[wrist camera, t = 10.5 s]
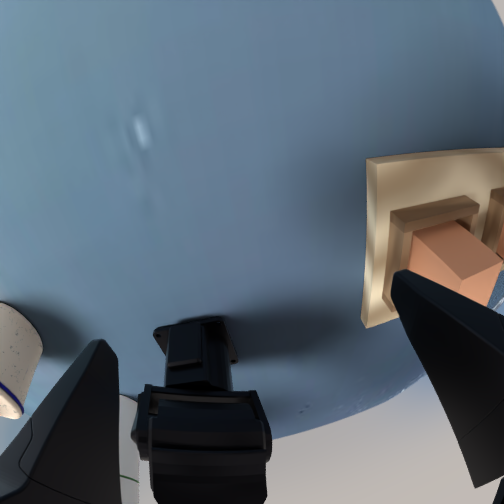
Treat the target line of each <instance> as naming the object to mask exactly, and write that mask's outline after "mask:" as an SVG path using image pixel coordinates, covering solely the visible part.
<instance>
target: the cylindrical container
mask: <svg viewBox="0 0 504 504" xmlns="http://www.w3.org/2000/svg"><path fill="white" fill-rule="evenodd" d="M119 396H120V413H119V465H120V485H121V498H122V504H139V484H138V483H139V457H140V455H139V451H138V449H137V445H136V444H135V443H134V442H133V441H132V439H131V429H132V426H133V422H134V419H135V415H136V411H137V402H135V401H134V400H132V399H130V398H128V397H125V396H123V395H119Z"/></svg>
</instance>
